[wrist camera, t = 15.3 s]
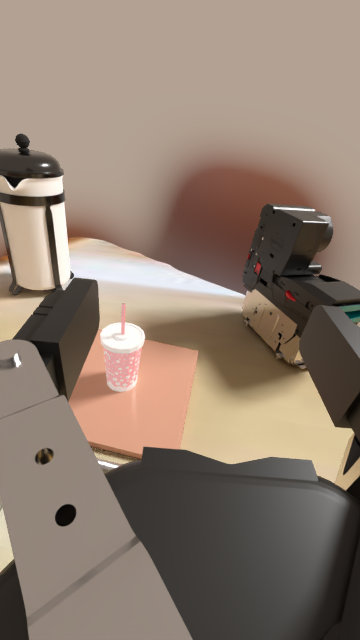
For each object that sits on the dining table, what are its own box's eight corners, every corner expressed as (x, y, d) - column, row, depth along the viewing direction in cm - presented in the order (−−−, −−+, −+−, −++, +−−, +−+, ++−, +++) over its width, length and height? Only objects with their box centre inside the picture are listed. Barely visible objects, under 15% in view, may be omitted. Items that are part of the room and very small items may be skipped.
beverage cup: (104, 366, 47) (102, 291, 40) (142, 367, 48) (147, 293, 40) (99, 395, 42) (95, 316, 35) (141, 396, 43) (147, 318, 35)
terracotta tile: (198, 355, 54) (199, 350, 54) (175, 467, 36) (176, 463, 35) (86, 330, 56) (85, 326, 55) (10, 426, 38) (9, 421, 37)
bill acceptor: (294, 382, 52) (361, 246, 38) (230, 312, 69) (260, 201, 55) (337, 371, 55) (412, 245, 42) (266, 307, 72) (302, 203, 59)
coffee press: (94, 289, 69) (87, 143, 53) (24, 309, 59) (-12, 136, 42) (59, 262, 79) (44, 131, 62) (-7, 275, 68) (-46, 123, 52)
